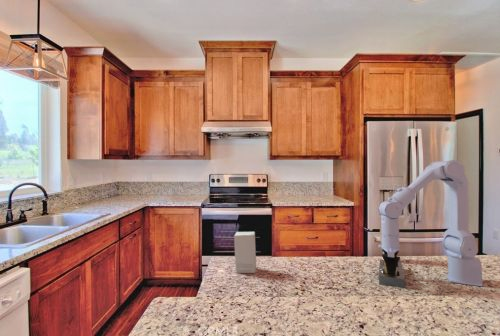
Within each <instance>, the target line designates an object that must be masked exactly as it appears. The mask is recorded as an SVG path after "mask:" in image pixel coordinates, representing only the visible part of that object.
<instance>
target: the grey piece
mask: <svg viewBox="0 0 500 336" xmlns="http://www.w3.org/2000/svg"><path fill="white" fill-rule="evenodd" d="M384 262H385V261H384V260H382V258H381V259H379V266H378V267H379V268H378V270H379V271H378V285H381V286H388V287H396V288H400V289H406V280H405V274H404V269H403V262H402V261H399V262H398V264H397V276H391V275H387V274H384Z"/></svg>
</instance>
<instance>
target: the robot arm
mask: <svg viewBox="0 0 500 336" xmlns="http://www.w3.org/2000/svg"><path fill="white" fill-rule="evenodd" d="M436 180H440V181H442V182H443V183H445V184H446V185H447V186H448V187H449V189H448V190H449V191H448V193H449V201H448V203H449V206H448V207H449V211H448V212H449V214H448V215H449V217H448V218H449V227H448V228H447V229H446V230H445V231H444V237H443V239H442V247H443V248H444V249H445V250H446V254H447V273H444V275H445V277H446V279H447V280H448V282H449V283H454V284H455V283H456V284H463V285H469V286H470V285H471V286H476V287H484V284H483V273H482V272H483V268H482V262H481V259H480V257H476V256H477V254H478V253H479V252H478V251H479V248H478V245H477V243H476V236H475V235H474V234H473V233H472V232H471V231H470V230H469V179H468V178H467V176H466V174H465V166H464V165H463V164H462V163H461V162H460V161H458V160H454V159H451V160H445V161H444V160H441V161H439V160H438V161H435V160H434V161H433V162H431V163H430V164H429V165H428V166H425V168H424V170H423V171H422V172H421V173H420V174H419V175H418V176H417V177H416V178H415V179H414V180H413V181H412V182H411V183H410V184H409V185H408V186H407V187H406V186H402V187H398V188H396V192H395V193H394V194H393V195H391V196H389V197H388V198H387V200H385V201H382V202H381V203H380V204H379V206H378V207H377V212H378V213H379V215H380V218H381V222H380V223H381V225H380V226H381V230H382V245H381V244H378V246H377V247H378V248H379V249H381V250H383V252H384V254H382V253H381V258H382V257H383V259H384V261H385V264H386V268H387V273H388V275H391V276H395V273H396V267H397V264H398V262H400V259H401V256H399V255H398V254H399V252H400V250H401V247H400V224H399V223H400V222H399V217H402V214H403V210H405V208H406V207H407V206H409V204H411V203H412V202H413V201H414V200H416V194H417V193H418V192H419V191H421V190H422V189H424V188H425V187H426V186H427V185H428V184H430V183H431V182H432V181H436Z"/></svg>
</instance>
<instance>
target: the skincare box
mask: <svg viewBox="0 0 500 336" xmlns="http://www.w3.org/2000/svg"><path fill="white" fill-rule="evenodd" d="M233 237H234V260H235V261H234V264H235V274H256V271H257V255H256V253H257V252H256V232H255V231H236V232H235V234H234V235H233Z"/></svg>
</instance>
